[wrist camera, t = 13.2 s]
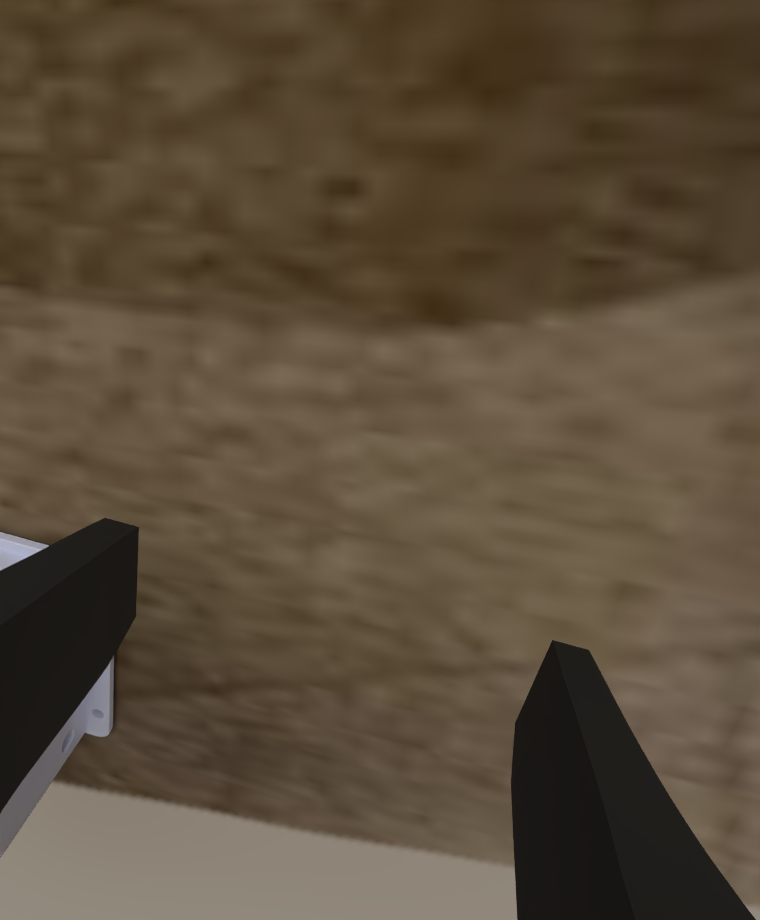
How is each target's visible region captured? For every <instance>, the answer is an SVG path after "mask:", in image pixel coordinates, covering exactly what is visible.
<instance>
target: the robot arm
mask: <svg viewBox="0 0 760 920" xmlns="http://www.w3.org/2000/svg"><path fill="white" fill-rule="evenodd" d="M138 532H139V527H136V526H133V525H129V524H125V523H122V522H118V521H114V520H111V519H107V518H104V519H102V520H100V521H98V522H95V523H93V524H91V525H89V526H87V527H85V528H83V529H81V530H79V531H77V532H75V533H74V534H72V535H70V536H68V537H66V538H64V539H62V540H60V541H58V542H56V543H54V544H52V545H50V546H49V545H45V544H41V543H38V542H34V541H31V540H27V539H23V538H20V537H16V536H13V535H9V534H5V533H2V532H0V857H1V856H2V855H3V853H4V852H5V850H6V849H7V848H8V846H9V845H10V843H11V841H12V840H13V839H14V837H15V836H16V834H17V833H18V831H19V830H20V828H21V827H22V825H23V824H24V822H25V821H26V819H27V818H28V816H29V815H30V813H31V812H32V810H33V809H34V807H35V806H36V804H37V803H38V802H39V800H40V799H41V797H42V796H43V794H44V793H45V791H46V790H47V788H48V787H49V785H50V784H51V782H52V781H53V779H54V778H55V776H56V775H57V773H58V772H59V770H60V769H61V767H62V766H63V764H64V763H65V761H66V760H67V758H68V757H69V756H70V754H71V753H72V751H73V750H74V748H75V747H76V745H77V744H78V742H79V741H80V739H81V738H82V736H83V735H84V733H88V734H91V735H94V736H98V737H105V736H107V735H108V734H109V733H110V731H111V730H112V727H113V691H114V654H115V653H116V651H117V649H118V648H119V646H120V644H121V642H122V641H123V639H124V637H125V635H126V633H127V631H128V630H129V628H130V626H131V624H132V622H133V621H134V619H135V617H136V593H137V563H138ZM511 793H512V817H513V839H514V859H515V878H516V899H517V918H518V920H756V919H755V918H754V917H753V916H752V914H751V913H750V912H749V910H748V909H747V908H746V906H745V905H744V904H743V902H742V901H741V900H740V898H739V897H738V895H737V894H736V893H735V891H734V890H733V889H732V887H731V886H730V885H729V883H728V882H727V880H726V879H725V878H724V876H723V875H722V874H721V872H720V871H719V870H718V868H717V867H716V865H715V864H714V863H713V861H712V860H711V859H710V857H709V856H708V854H707V853H706V851H705V850H704V848H703V847H702V845H701V844H700V843H699V841H698V840H697V838H696V837H695V835H694V834H693V832H692V831H691V829H690V827H689V826H688V824H687V823H686V821H685V820H684V818H683V817H682V815H681V813H680V812H679V810H678V809H677V807H676V806H675V804H674V803H673V801H672V799H671V798H670V796H669V795H668V793H667V791H666V790H665V788H664V786H663V785H662V783H661V781H660V780H659V778H658V776H657V775H656V773H655V771H654V769H653V768H652V766H651V764H650V762H649V761H648V759H647V757H646V755H645V754H644V752H643V750H642V748H641V747H640V745H639V743H638V741H637V740H636V738H635V736H634V734H633V732H632V731H631V729H630V727H629V725H628V723H627V721H626V720H625V718H624V716H623V714H622V712H621V710H620V708H619V706H618V705H617V703H616V701H615V699H614V697H613V695H612V693H611V691H610V689H609V687H608V685H607V683H606V682H605V680H604V678H603V676H602V674H601V672H600V670H599V668H598V666H597V664H596V662H595V661H594V659H593V657H592V655H591V653H590V651H589V650H587V649H583V648H579V647H576V646H572V645H568V644H565V643H561V642H557V641H554V640H552V642H551V644H550V647H549V649H548V651H547V653H546V656H545V658H544V660H543V662H542V665H541V667H540V669H539V671H538V674H537V676H536V678H535V680H534V682H533V685H532V687H531V689H530V691H529V694H528V696H527V698H526V700H525V703H524V705H523V707H522V709H521V711H520V714H519V716H518V718H517V720H516V723H515V734H514V747H513V760H512V777H511Z"/></svg>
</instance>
